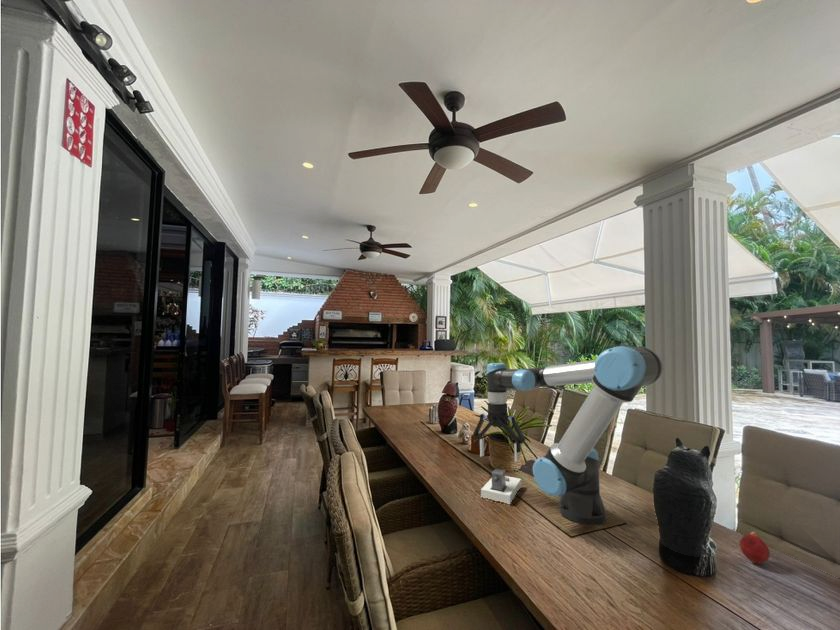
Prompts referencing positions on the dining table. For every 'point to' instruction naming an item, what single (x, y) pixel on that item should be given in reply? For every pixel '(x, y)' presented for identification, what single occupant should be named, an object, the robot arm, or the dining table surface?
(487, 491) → the socket
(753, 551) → the red oval piece
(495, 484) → the plug
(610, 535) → the dining table surface
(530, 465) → the hardcover book
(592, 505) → the robot arm
